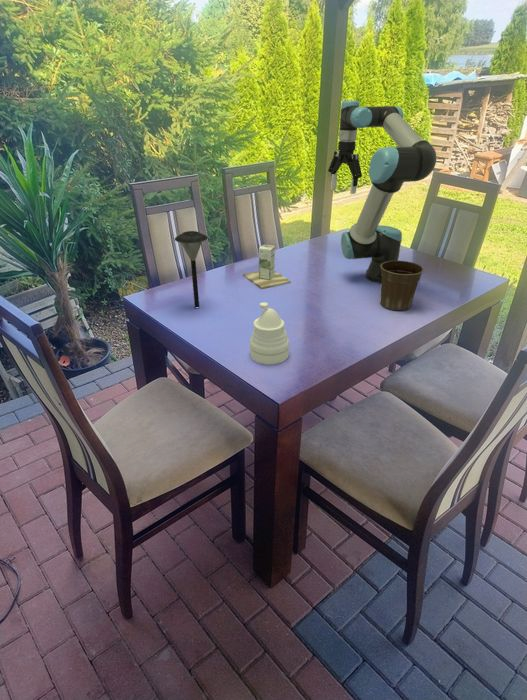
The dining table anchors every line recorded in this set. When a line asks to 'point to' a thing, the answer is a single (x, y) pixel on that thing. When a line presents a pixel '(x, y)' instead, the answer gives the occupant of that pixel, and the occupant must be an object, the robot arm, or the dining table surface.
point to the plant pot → (399, 284)
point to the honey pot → (269, 338)
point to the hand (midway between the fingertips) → (342, 191)
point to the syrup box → (266, 262)
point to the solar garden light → (192, 254)
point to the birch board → (265, 283)
